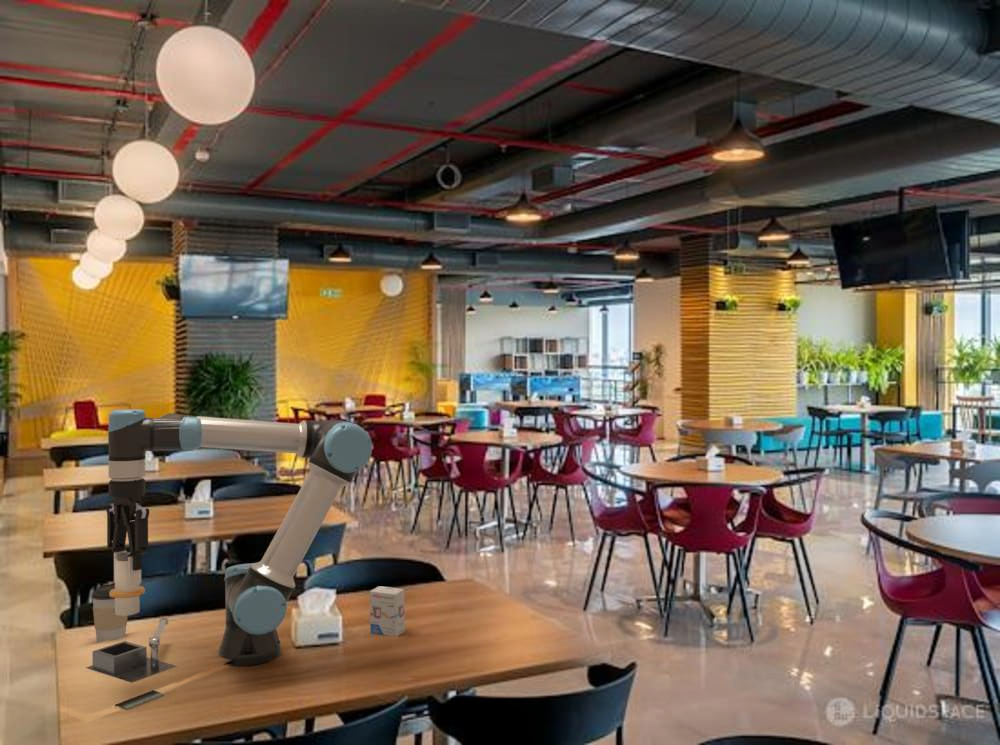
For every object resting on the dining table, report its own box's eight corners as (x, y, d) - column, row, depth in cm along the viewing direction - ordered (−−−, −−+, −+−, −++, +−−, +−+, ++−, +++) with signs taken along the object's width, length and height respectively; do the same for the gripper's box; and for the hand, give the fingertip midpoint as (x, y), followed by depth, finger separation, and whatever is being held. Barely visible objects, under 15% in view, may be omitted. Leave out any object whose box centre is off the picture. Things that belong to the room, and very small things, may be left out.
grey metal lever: (159, 646, 199) (159, 639, 199) (148, 647, 198) (148, 640, 198) (169, 623, 217) (169, 616, 216) (159, 623, 216) (159, 617, 216)
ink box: (369, 633, 228) (368, 590, 228) (378, 628, 233) (378, 585, 233) (396, 637, 225) (396, 593, 225) (405, 631, 230) (405, 588, 230)
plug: (151, 611, 189) (151, 553, 188) (121, 619, 183) (120, 559, 183) (133, 605, 193) (133, 549, 193) (103, 613, 187) (102, 555, 187)
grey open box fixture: (177, 672, 200) (176, 644, 200) (131, 689, 190) (131, 660, 190) (131, 658, 210) (130, 632, 210) (85, 673, 200) (85, 646, 200)
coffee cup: (115, 648, 217) (114, 591, 217) (84, 646, 219) (83, 589, 219) (137, 637, 226) (136, 582, 226) (107, 635, 228) (106, 580, 228)
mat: (164, 695, 186) (164, 693, 186) (127, 709, 179) (127, 707, 179) (139, 687, 191) (139, 685, 191) (102, 701, 184) (102, 699, 184)
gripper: (165, 479, 185) (166, 585, 186) (120, 473, 196) (121, 573, 196) (134, 483, 179) (134, 592, 179) (89, 477, 190) (89, 580, 190)
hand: (127, 582), depth 188 cm, fingers closed on plug, 5 cm apart
